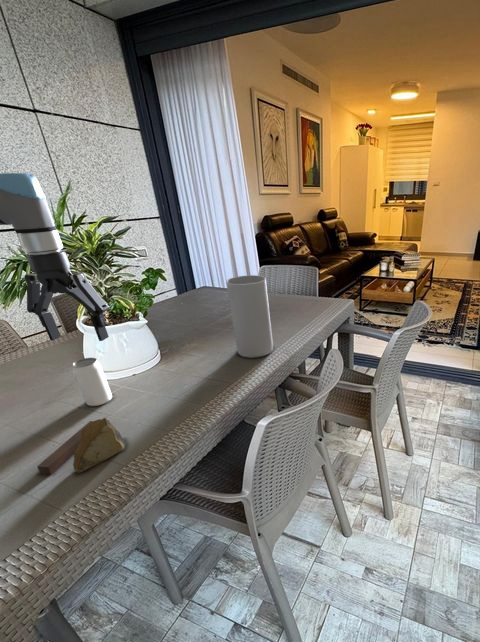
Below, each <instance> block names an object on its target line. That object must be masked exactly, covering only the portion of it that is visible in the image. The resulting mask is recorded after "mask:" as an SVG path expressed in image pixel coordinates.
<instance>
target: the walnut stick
mask: <svg viewBox="0 0 480 642" xmlns="http://www.w3.org/2000/svg"><path fill="white" fill-rule="evenodd" d="M93 421H94V420H90V421H88V422H87V423H86V424H84V425H83V426H82V427H81V428H80V429H79V430H78V431H77V432H75V433H74V434H73V435H72V436H70V437H69V439H67V440H66V441H65V442H64V443H63V444H61V445H60V446H59V447H58V448H57V449H55V450H54V451H53V452H52V453H51V454H49V456H47V457H46V458H45V459H43V461H42V462H40V463H39V464H38V465H37V466H36V468H37V469H38V471H39V473H40V474H42V475H53V474H54V473H55V472H56V471H57V470H58V469H59V468H60V467H61V466H62V465H63V464H64V463H66V462H67V461H68V460H69V459H70V458H71V457H72V456H74V453H75V450H76V449H77V448H78V444H79V440H80V438H81V431H82V429H84V428H86V427H87V426H88V425H90V424H91V423H92V422H93Z"/></svg>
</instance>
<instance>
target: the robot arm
mask: <svg viewBox="0 0 480 642" xmlns="http://www.w3.org/2000/svg"><path fill="white" fill-rule="evenodd" d="M10 225H12V227H13V229H14V231H15V235H16V236H17V239H18V241H19V243H20V247H21V248H22V251H23V252H24V253H26V254H27V255H26V257H25V258H26V260H27V262H28V264H29V265H28V266H29V267H30V269H31V271H32V272H31V273H27V274H25V275H24V280H25V283H26V311H27V312H28V313H29V314H32V313H33V314H35V315H36V316H37V317H38V320H39V321H40V324H41V326H42V327H43V328H44V329H45V331H46V333H47V335H48V338H49V340H50V341H55V340H57V339H59V338H61V337H62V335H61V333H60V330H59V327H58V326H57V323H56V320H55V318H54V316H53V313H52V312H50V311H49V307H50V305H51V302H52V299H53V296H54V294H61V295H62V294H66V295H67V296H69V297H72V298H73V299H74V300H75V301H76V302H78V303H79V304H80V305H81V306H82V307H83V308H84V309H86V310H87V311H88V312H89V313H90V314H91V315H89V318H90V321H91V323H92V325H93V326H92V327H93V329H94V331H95V333H96V336H97V339H98V341H99V342H103V341H104V340H106V339H109V333H108V330H107V327H106V326H107V321H106V318H105V316H104V313H105V312H107V311H109V310H110V306H109V305H108V304H107V302H106V301H105V300H104V298H102V297H101V296H100V294H99V293H98V291H96V289H95V288H94V287H93V286H92V284H91V283H90V282H89V280H88V278H87V276H86V274H85V272H83V271H80V272H77V273H72V272H71V270H70V267H71V264H70V260H69V258H68V255H67V252H66V251H64V250H63V249H64V245H63V242H62V239H61V237H60V234H59V231H58V229H57V226H56V224H55V222H54V219H53V215H52V213H51V210H50V207H49V204H48V201H47V197H46V195H45V193H44V192H43V189H42V187H41V185H40V182H39V180H38V178H37V177H36V176H35V175H33V174H31V173H27V172H10V173H7V172H6V173H5V172H4V173H0V226H10Z"/></svg>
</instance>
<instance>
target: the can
mask: <svg viewBox="0 0 480 642" xmlns="http://www.w3.org/2000/svg"><path fill="white" fill-rule="evenodd" d="M71 366H72V372H73V375H74V378H75V380H76V383H77V384H78V388H79V389H80V392H81V395H82V397H83V399H84V401H85V403H86V405H87V406H90V407H99V406H102V405H105V404H107V403H109V402H110V401H111V400H112V398H113V394H112V391H111V388H110V386H109V383H108V380H107V378H106V374H105V373H104V369H103V367H102V364H101V363H100V362H99V361H98V359H97V358H95V357H85V358H81V359H79V360H76V361H74V362H73V363H72V365H71Z"/></svg>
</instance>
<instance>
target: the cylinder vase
mask: <svg viewBox="0 0 480 642" xmlns="http://www.w3.org/2000/svg"><path fill="white" fill-rule="evenodd" d="M225 283H226V288H227V295H228V302H229V309H230V314H231V320H232V326H233V332H234V338H235V344H236V351H237V354H238V355H239V356H241V357H244V358H248V359H249V358H250V359H253V358H255V359H256V358H261V357H264V356H267V355H269V354H271V352H272V351H273V350H274V341H273V334H272V333H273V332H272V323H271V315H270V305H269V296H268V287H267V278H266V276H262V275H256V274H255V275H253V274H252V275H251V274H249V275H239V276H235V277H230V278H228V279H227V280H226V282H225Z"/></svg>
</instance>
